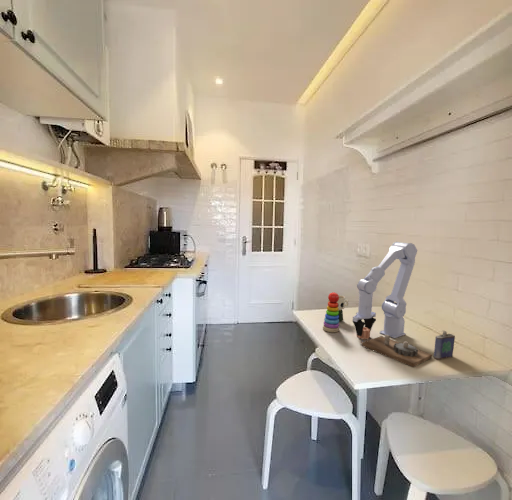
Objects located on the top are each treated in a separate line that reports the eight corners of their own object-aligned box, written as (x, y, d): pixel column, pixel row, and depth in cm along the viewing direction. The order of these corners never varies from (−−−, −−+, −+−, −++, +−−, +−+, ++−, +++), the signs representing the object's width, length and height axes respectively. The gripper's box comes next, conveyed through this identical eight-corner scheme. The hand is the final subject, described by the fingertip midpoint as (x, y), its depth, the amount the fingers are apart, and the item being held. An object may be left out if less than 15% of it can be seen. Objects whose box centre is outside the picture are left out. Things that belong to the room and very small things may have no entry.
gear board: (381, 339, 138) (382, 327, 137) (431, 358, 120) (432, 344, 119) (362, 345, 130) (363, 333, 129) (413, 367, 112) (414, 353, 111)
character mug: (328, 322, 159) (329, 298, 157) (325, 317, 166) (326, 294, 164) (349, 322, 158) (350, 298, 157) (345, 318, 165) (346, 295, 164)
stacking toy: (322, 331, 145) (324, 293, 143) (322, 326, 152) (324, 289, 150) (339, 333, 143) (341, 295, 141) (339, 328, 151) (341, 291, 149)
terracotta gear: (361, 333, 144) (362, 325, 143) (372, 337, 139) (372, 329, 139) (354, 336, 140) (354, 327, 140) (364, 340, 136) (365, 331, 135)
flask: (437, 360, 118) (440, 333, 117) (430, 357, 121) (433, 331, 120) (454, 357, 121) (457, 331, 120) (447, 354, 124) (450, 328, 123)
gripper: (367, 301, 145) (365, 328, 147) (347, 305, 137) (346, 334, 139) (380, 304, 140) (378, 333, 141) (361, 309, 131) (359, 339, 133)
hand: (363, 334), depth 139 cm, fingers closed on terracotta gear, 6 cm apart
